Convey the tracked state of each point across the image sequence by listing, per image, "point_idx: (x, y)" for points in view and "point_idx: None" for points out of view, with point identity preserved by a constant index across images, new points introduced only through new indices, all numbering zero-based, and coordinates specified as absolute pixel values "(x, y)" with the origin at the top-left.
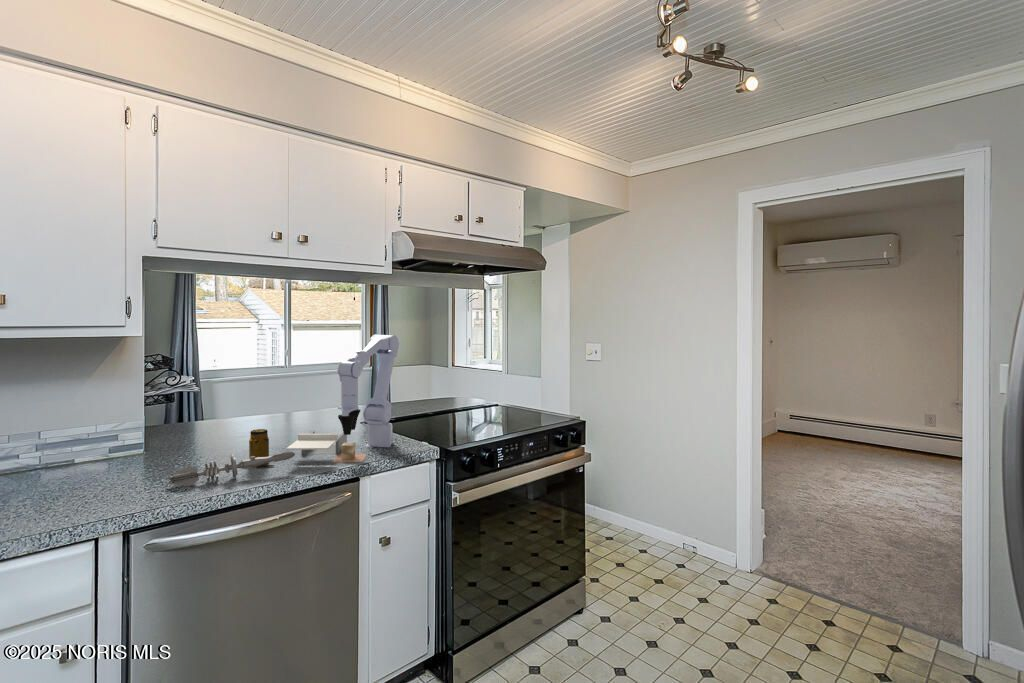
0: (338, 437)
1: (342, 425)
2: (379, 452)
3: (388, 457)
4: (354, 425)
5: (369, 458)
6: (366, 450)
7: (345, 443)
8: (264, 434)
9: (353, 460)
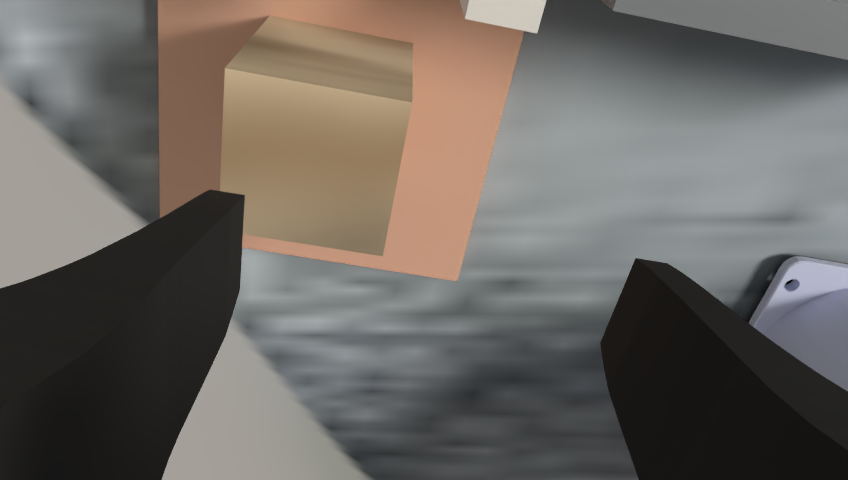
0: (755, 2)
1: (61, 277)
2: (548, 366)
3: (359, 422)
4: (622, 399)
5: (352, 288)
6: (671, 264)
7: (359, 128)
8: None
9: (220, 156)
